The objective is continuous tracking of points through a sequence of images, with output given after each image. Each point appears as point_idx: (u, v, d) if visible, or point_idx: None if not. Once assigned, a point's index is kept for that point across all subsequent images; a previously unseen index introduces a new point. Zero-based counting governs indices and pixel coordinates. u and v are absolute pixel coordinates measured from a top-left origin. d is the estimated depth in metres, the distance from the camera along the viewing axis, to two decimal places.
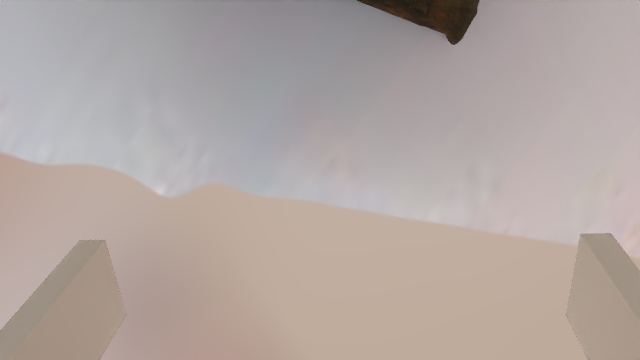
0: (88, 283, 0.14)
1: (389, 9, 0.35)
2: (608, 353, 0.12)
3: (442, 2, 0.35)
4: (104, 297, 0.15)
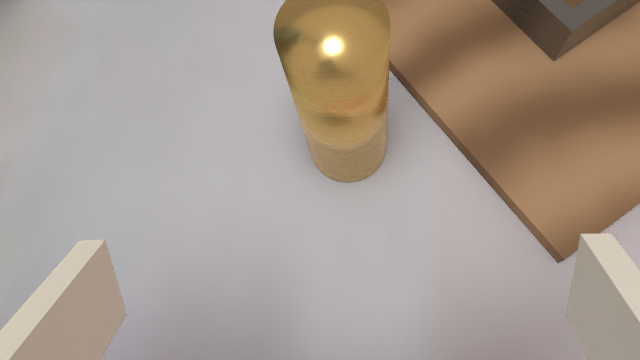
0: (87, 283, 0.14)
1: None
2: (608, 353, 0.12)
3: None
4: (104, 297, 0.15)
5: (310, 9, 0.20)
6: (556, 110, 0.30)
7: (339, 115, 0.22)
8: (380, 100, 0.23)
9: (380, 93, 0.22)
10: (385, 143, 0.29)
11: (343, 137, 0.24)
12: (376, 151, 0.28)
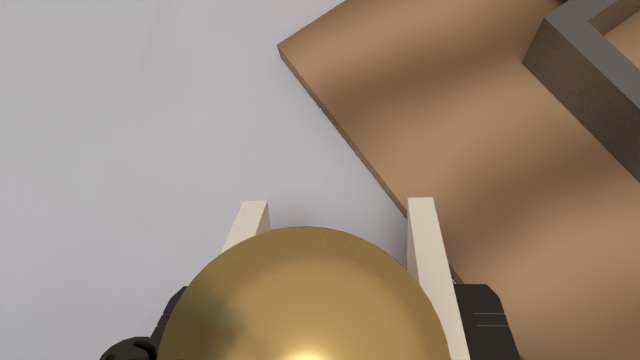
0: None
1: None
2: None
3: None
4: None
5: (248, 313, 0.08)
6: None
7: None
8: None
9: None
10: None
11: None
12: None
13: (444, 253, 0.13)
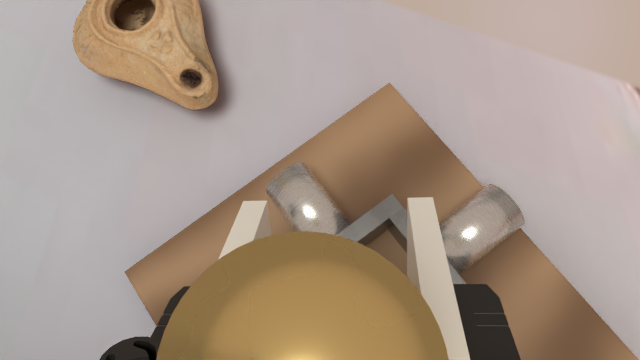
0: (261, 237, 0.15)
1: None
2: None
3: None
4: None
5: (247, 318, 0.08)
6: None
7: None
8: None
9: None
10: None
11: None
12: None
13: (444, 253, 0.13)
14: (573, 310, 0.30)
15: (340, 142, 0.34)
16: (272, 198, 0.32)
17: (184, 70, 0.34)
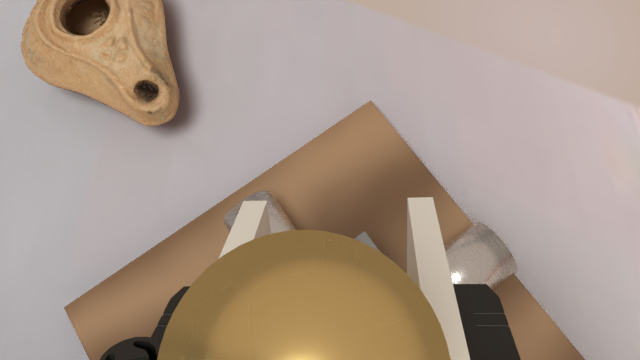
0: None
1: None
2: None
3: None
4: None
5: (248, 317, 0.08)
6: None
7: None
8: None
9: None
10: None
11: None
12: None
13: (444, 253, 0.13)
14: None
15: (312, 166, 0.31)
16: None
17: (139, 82, 0.30)
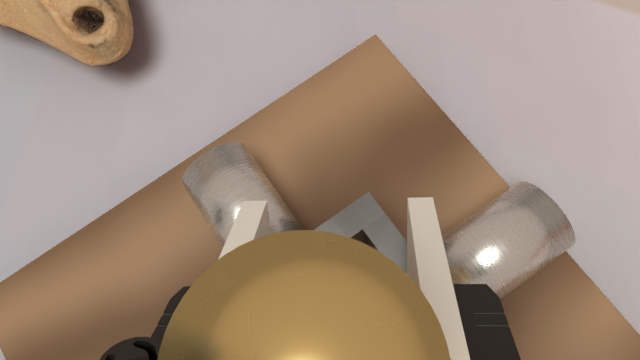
0: None
1: None
2: None
3: None
4: None
5: (248, 317, 0.08)
6: None
7: None
8: None
9: None
10: None
11: None
12: None
13: (444, 253, 0.13)
14: None
15: (301, 117, 0.24)
16: (190, 194, 0.21)
17: (79, 8, 0.24)
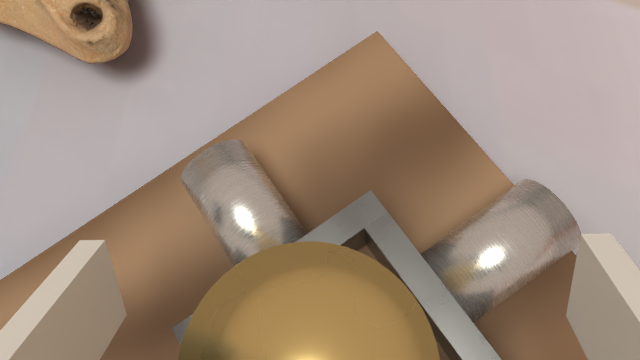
0: (88, 283, 0.14)
1: None
2: (607, 353, 0.12)
3: None
4: (104, 297, 0.15)
5: (259, 319, 0.09)
6: None
7: None
8: None
9: None
10: None
11: None
12: None
13: None
14: None
15: (302, 114, 0.24)
16: (189, 193, 0.21)
17: (77, 5, 0.23)
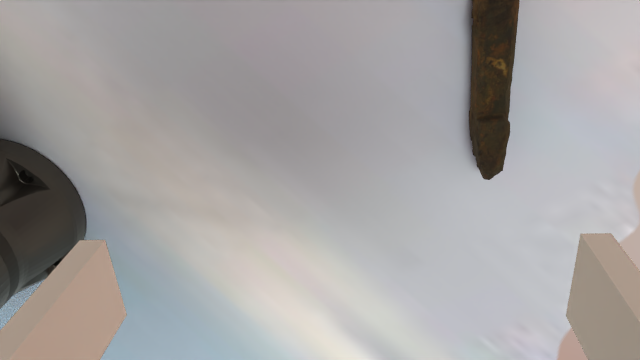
0: (88, 283, 0.14)
1: (515, 19, 0.39)
2: (608, 353, 0.12)
3: None
4: (104, 297, 0.15)
5: None
6: None
7: None
8: None
9: None
10: None
11: None
12: None
13: None
14: None
15: None
16: None
17: None
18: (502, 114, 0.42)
